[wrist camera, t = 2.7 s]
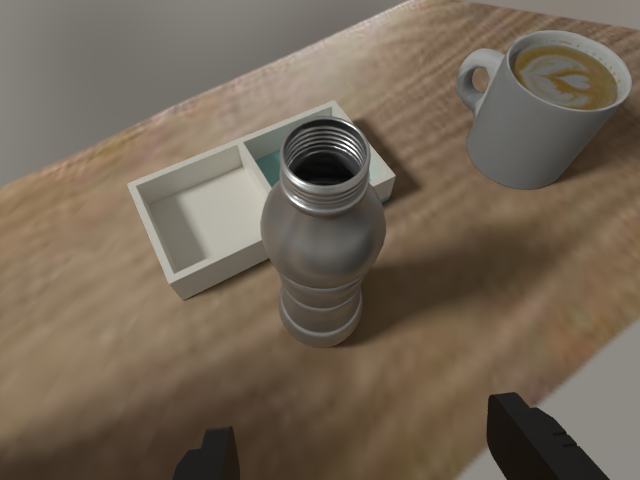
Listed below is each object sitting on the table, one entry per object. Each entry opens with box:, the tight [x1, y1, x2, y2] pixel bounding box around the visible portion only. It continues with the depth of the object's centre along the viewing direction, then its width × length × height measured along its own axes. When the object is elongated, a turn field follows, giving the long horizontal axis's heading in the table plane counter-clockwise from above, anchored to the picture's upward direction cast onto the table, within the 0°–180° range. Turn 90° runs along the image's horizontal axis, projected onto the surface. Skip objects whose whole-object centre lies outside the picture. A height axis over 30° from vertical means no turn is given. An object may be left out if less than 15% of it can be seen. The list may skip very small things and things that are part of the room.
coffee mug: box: [456, 30, 632, 189], centre depth 38 cm, size 13×10×10 cm
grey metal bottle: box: [260, 116, 386, 348], centre depth 24 cm, size 6×7×20 cm
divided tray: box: [127, 100, 396, 300], centre depth 37 cm, size 21×11×4 cm, turn 120°
